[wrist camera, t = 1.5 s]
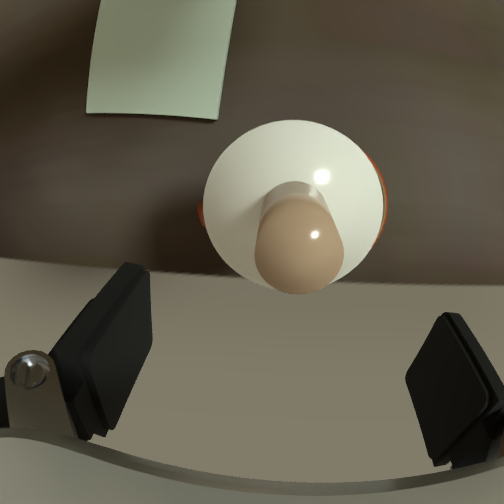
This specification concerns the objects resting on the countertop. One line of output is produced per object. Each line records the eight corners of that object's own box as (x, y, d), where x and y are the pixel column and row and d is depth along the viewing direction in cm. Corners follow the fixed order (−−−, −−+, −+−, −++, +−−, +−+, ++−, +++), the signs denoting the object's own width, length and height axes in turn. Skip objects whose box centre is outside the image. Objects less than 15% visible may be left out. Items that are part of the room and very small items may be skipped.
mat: (106, -9, 19) (103, -11, 19) (239, -16, 19) (238, -19, 19) (89, 112, 25) (85, 113, 25) (218, 119, 25) (216, 119, 25)
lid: (216, 107, 16) (185, 111, 10) (395, 141, 16) (445, 164, 10) (201, 268, 20) (175, 329, 15) (352, 292, 20) (371, 356, 15)
